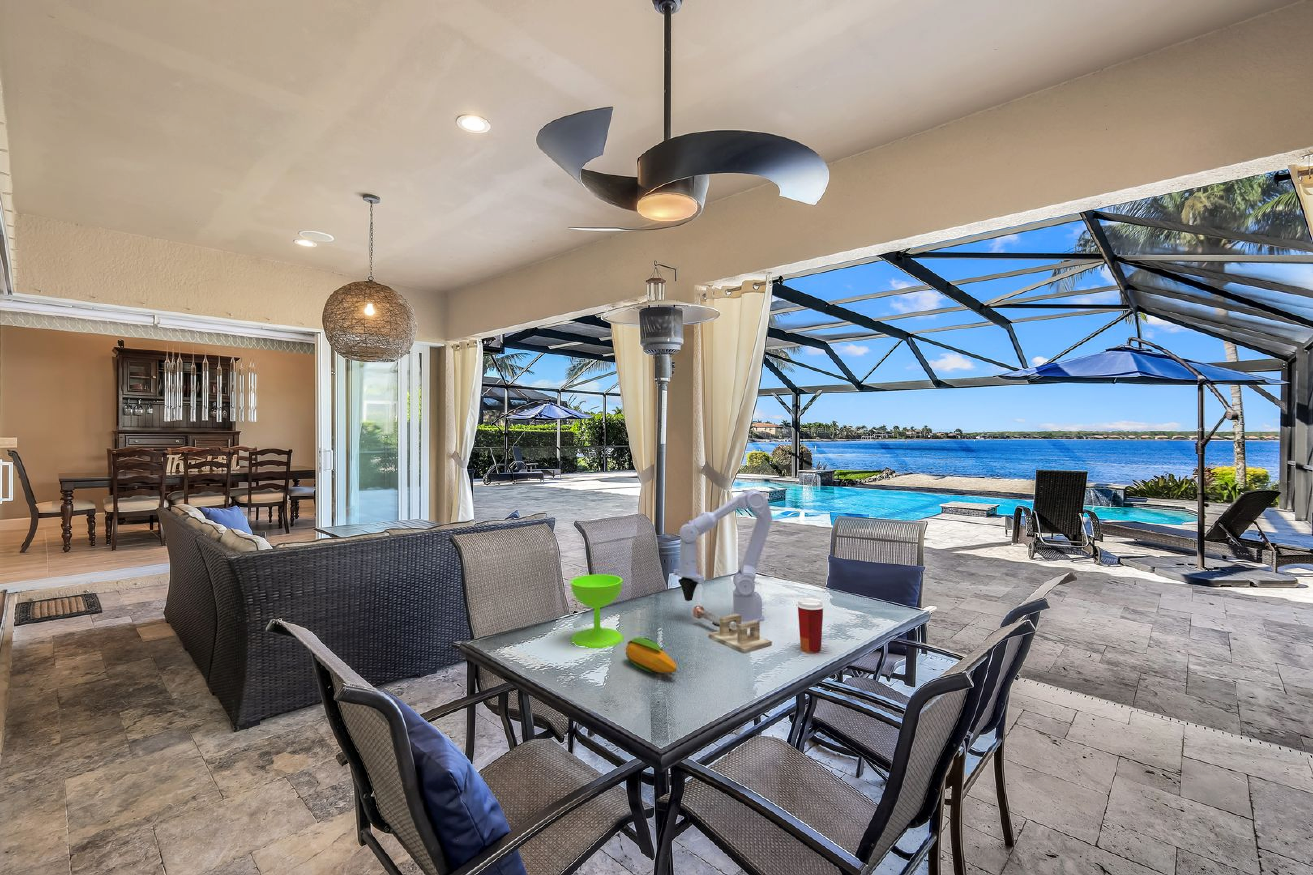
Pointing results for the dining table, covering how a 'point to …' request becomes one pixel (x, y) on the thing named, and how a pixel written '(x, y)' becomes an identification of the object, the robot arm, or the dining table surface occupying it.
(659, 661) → the corn
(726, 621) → the bearing block
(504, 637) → the dining table surface
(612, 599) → the wineglass
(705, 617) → the shaft
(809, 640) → the paper cup
